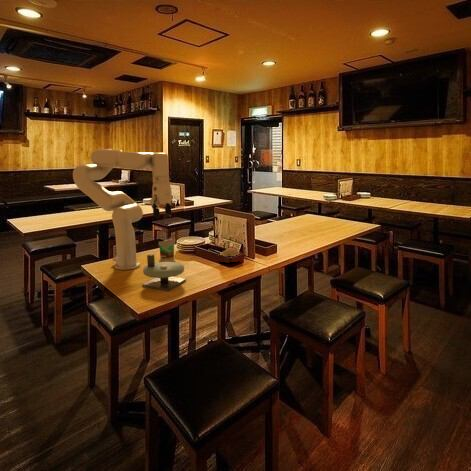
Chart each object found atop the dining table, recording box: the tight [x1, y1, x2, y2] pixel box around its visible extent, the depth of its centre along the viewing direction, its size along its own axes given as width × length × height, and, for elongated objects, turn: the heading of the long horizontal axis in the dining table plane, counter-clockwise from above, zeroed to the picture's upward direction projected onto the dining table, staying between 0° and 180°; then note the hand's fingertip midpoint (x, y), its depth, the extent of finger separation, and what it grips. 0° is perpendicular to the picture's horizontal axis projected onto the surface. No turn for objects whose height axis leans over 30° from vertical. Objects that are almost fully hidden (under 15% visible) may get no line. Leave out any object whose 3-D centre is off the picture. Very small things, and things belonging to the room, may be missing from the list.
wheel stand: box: [141, 276, 187, 292], centre depth 166 cm, size 14×14×6 cm
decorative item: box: [219, 247, 241, 256], centre depth 199 cm, size 12×9×10 cm
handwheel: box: [142, 253, 185, 279], centre depth 164 cm, size 18×18×6 cm
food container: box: [158, 236, 176, 259], centre depth 207 cm, size 12×6×10 cm, turn 159°
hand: (162, 215), depth 177 cm, fingers open, 9 cm apart
